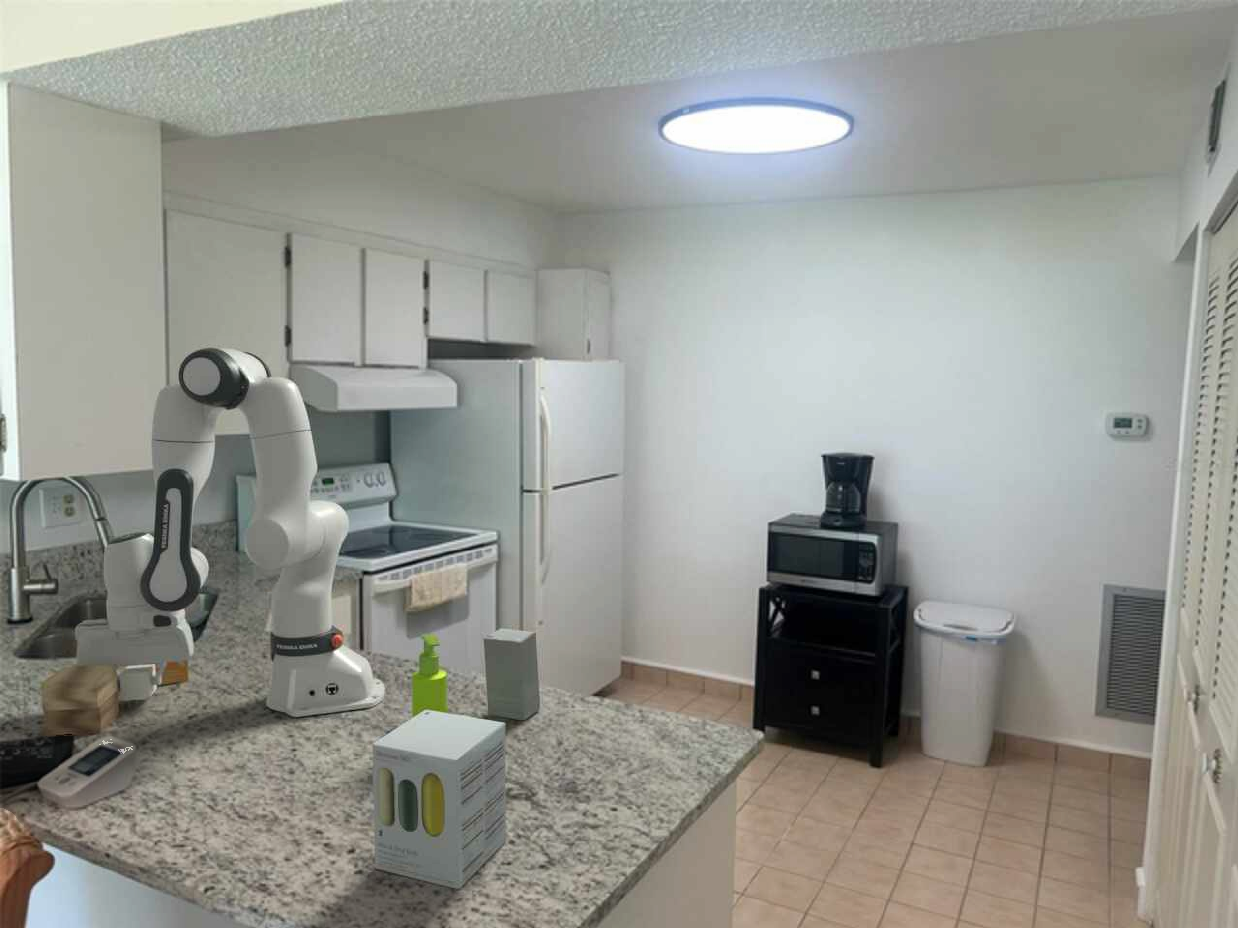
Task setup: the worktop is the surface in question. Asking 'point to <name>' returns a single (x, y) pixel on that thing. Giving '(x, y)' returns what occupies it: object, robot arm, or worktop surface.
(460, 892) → the worktop surface
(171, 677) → the small box
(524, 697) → the skincare box
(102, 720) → the block
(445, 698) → the soap dispenser
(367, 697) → the robot arm
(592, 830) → the worktop surface
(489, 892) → the worktop surface
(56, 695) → the tower top
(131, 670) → the cube
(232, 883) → the worktop surface
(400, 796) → the supplement box
